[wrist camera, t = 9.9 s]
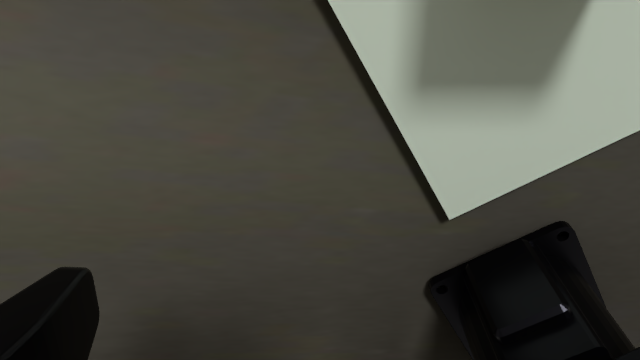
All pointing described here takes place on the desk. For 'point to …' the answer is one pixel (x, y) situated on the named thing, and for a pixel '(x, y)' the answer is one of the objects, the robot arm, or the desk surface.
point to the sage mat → (499, 84)
